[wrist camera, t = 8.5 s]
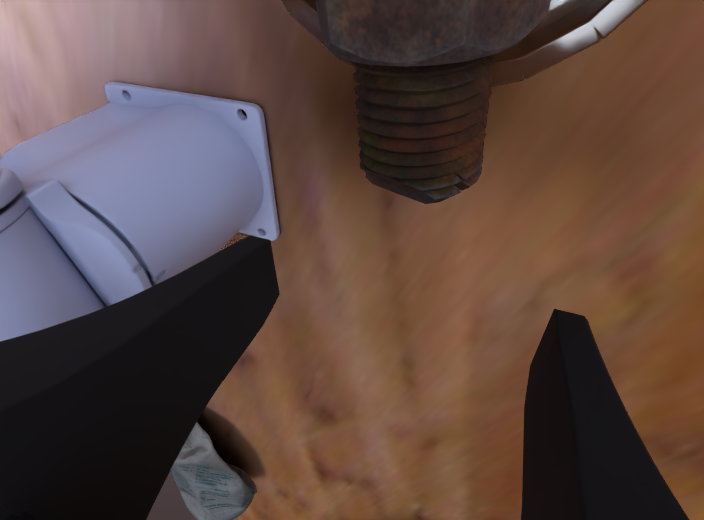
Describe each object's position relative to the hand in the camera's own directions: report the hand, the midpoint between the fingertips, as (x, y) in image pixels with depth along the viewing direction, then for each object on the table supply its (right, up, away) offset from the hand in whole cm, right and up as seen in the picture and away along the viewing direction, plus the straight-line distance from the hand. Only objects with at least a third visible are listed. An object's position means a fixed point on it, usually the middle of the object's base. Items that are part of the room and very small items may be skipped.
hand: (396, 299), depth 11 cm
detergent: (-19, -17, +38) cm, 45 cm away
